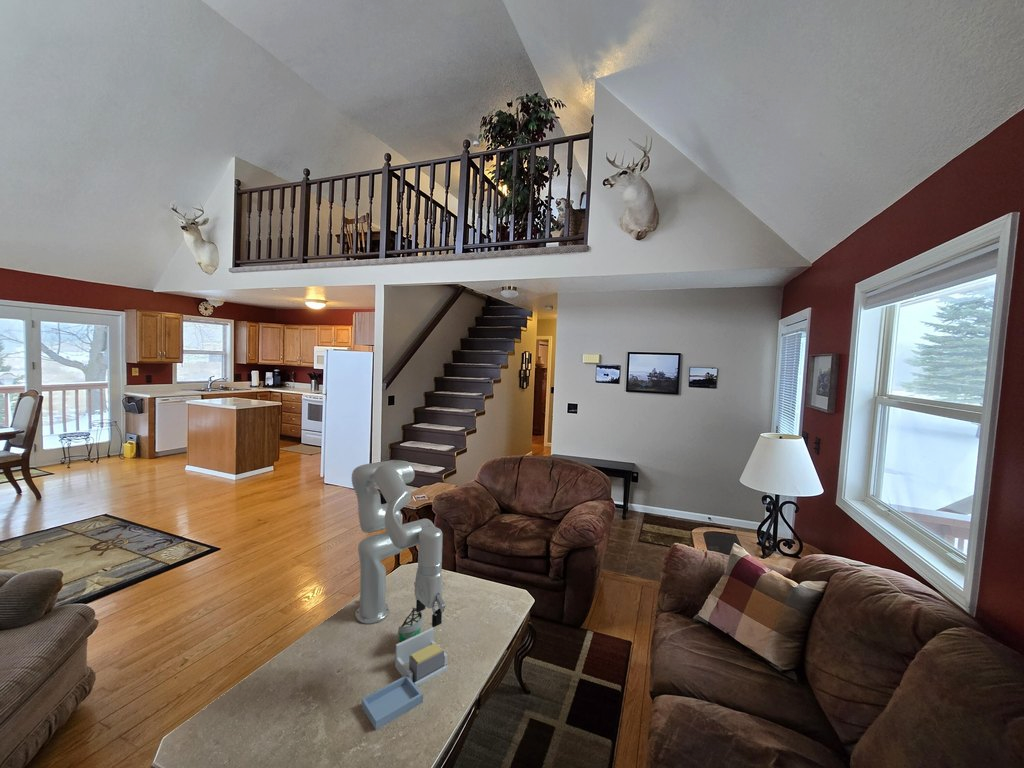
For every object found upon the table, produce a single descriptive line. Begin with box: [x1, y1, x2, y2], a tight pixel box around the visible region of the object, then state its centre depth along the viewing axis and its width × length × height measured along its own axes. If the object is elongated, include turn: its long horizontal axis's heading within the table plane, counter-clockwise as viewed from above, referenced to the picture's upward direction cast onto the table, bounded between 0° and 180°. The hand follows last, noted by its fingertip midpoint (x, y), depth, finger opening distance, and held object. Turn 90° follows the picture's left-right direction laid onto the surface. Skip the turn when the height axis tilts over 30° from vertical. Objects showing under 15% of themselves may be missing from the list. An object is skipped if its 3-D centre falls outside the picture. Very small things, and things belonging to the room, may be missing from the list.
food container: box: [397, 606, 424, 643], centre depth 154 cm, size 12×6×10 cm, turn 168°
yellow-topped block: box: [408, 642, 445, 683], centre depth 142 cm, size 5×10×7 cm, turn 132°
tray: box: [361, 675, 424, 731], centre depth 129 cm, size 10×15×3 cm, turn 132°
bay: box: [394, 627, 449, 688], centre depth 144 cm, size 12×14×8 cm
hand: (428, 617), depth 141 cm, fingers open, 9 cm apart
